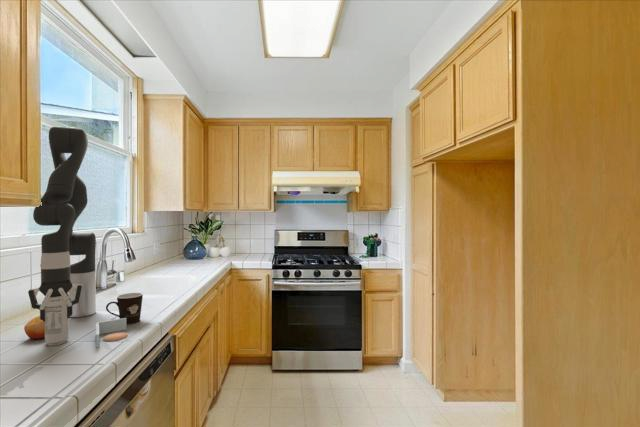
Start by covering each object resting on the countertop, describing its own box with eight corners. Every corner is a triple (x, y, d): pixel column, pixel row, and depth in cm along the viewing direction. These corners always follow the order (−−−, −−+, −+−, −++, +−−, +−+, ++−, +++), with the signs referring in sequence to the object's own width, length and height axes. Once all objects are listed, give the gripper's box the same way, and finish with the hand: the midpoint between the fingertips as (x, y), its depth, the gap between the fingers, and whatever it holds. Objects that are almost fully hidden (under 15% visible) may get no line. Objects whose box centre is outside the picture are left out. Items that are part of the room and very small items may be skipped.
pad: (103, 336, 118) (103, 335, 118) (126, 332, 122) (126, 331, 122) (103, 342, 112) (103, 341, 112) (128, 338, 116) (128, 337, 116)
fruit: (65, 326, 124) (56, 310, 119) (51, 346, 117) (41, 329, 113) (41, 327, 123) (31, 311, 119) (26, 346, 117) (15, 330, 112)
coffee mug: (144, 317, 139) (143, 291, 139) (141, 323, 131) (141, 296, 131) (110, 320, 135) (109, 294, 134) (105, 327, 127) (105, 300, 126)
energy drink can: (73, 339, 116) (72, 293, 115) (58, 346, 110) (58, 297, 109) (55, 339, 116) (54, 293, 116) (39, 346, 110) (39, 297, 110)
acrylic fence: (96, 333, 120) (96, 322, 120) (126, 329, 125) (126, 317, 125) (96, 347, 108) (96, 334, 108) (129, 341, 113) (129, 329, 113)
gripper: (83, 262, 119) (84, 312, 120) (28, 266, 112) (29, 320, 112) (82, 265, 113) (83, 318, 113) (24, 270, 105) (25, 326, 106)
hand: (56, 319), depth 113 cm, fingers closed on energy drink can, 5 cm apart
